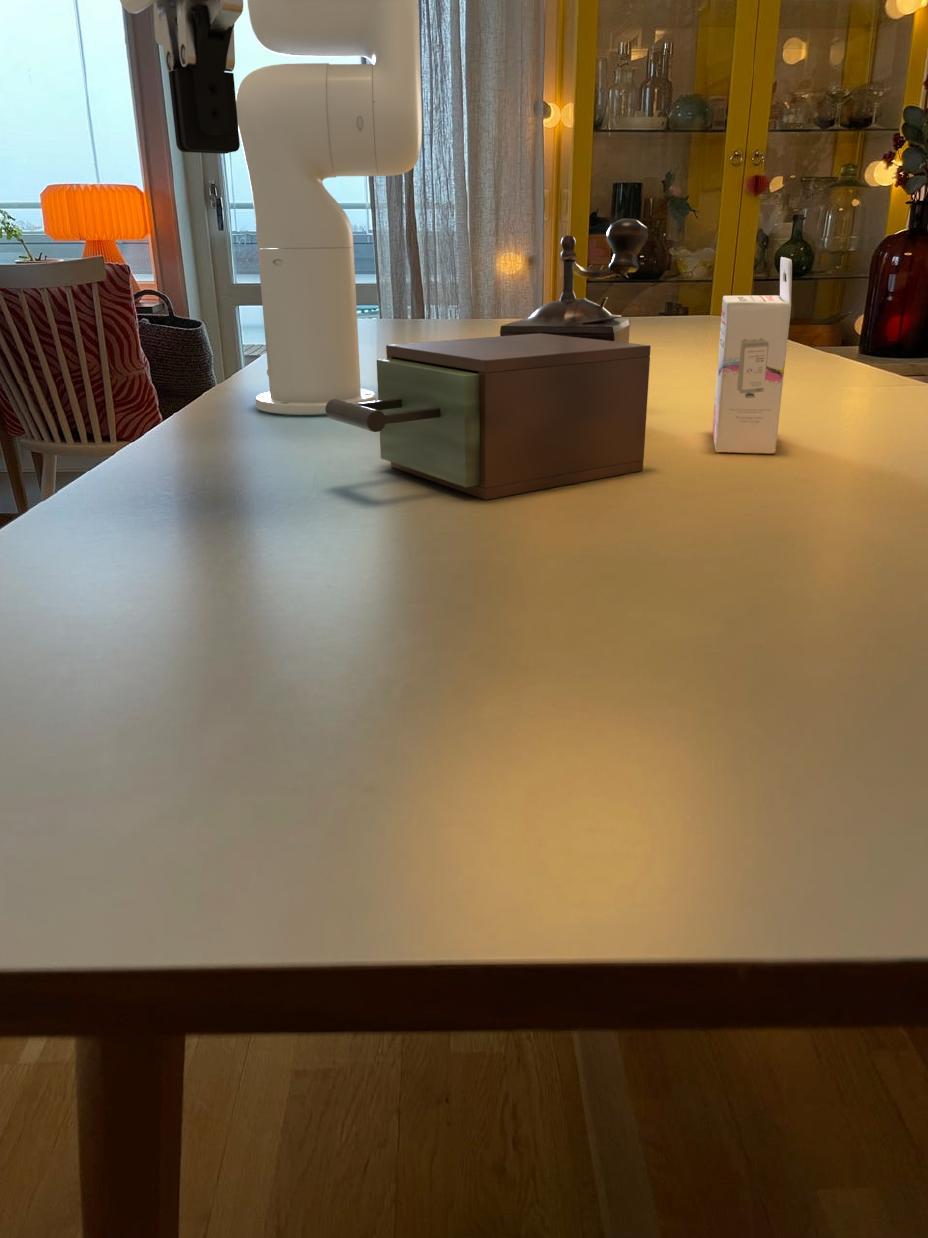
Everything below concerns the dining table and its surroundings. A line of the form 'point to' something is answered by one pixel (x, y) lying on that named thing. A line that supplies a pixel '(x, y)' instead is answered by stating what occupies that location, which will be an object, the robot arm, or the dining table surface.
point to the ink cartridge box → (752, 369)
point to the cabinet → (547, 408)
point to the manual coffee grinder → (582, 313)
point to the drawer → (423, 418)
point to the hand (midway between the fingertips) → (208, 150)
